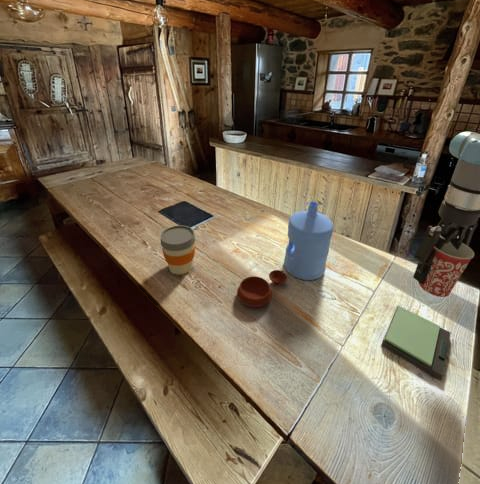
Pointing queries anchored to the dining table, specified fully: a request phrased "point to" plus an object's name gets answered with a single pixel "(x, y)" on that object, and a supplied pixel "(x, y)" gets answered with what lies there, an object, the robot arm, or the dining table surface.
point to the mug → (446, 269)
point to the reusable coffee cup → (178, 248)
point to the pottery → (259, 289)
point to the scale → (418, 341)
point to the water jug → (308, 243)
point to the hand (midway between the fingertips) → (430, 277)
